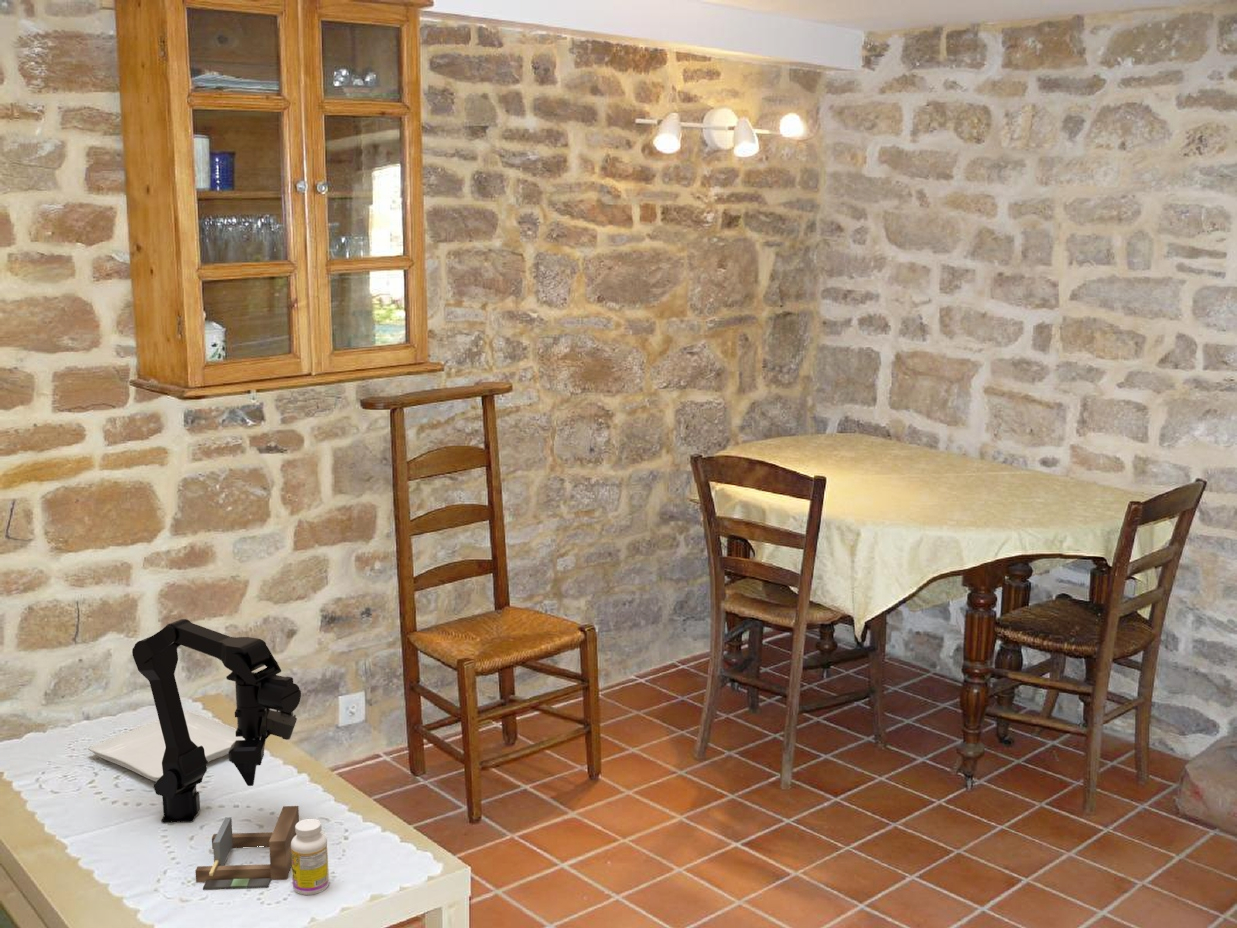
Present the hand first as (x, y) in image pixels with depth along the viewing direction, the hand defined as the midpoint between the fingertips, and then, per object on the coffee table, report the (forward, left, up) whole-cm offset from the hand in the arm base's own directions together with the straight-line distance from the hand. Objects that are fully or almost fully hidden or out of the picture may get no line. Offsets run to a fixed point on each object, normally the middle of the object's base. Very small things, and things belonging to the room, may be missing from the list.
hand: (254, 775), depth 249 cm
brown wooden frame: (+1, -11, -14) cm, 18 cm away
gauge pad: (-4, -12, -13) cm, 18 cm away
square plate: (-28, +41, -14) cm, 52 cm away
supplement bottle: (+14, -20, -14) cm, 28 cm away
